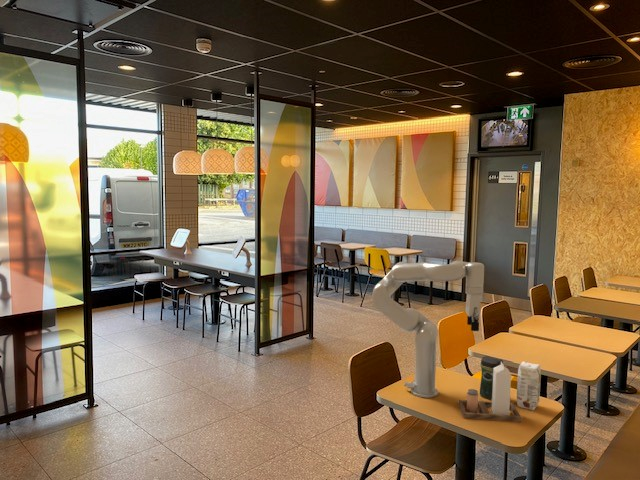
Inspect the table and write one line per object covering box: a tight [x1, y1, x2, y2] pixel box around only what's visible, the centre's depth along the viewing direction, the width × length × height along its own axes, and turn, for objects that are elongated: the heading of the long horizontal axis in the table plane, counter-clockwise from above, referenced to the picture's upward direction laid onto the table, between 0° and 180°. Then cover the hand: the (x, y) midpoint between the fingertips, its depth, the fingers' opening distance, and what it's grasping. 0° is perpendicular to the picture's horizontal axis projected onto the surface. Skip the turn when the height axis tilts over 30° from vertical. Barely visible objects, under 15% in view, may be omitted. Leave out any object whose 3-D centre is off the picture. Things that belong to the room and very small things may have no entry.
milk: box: [491, 362, 512, 415], centre depth 203 cm, size 6×6×22 cm
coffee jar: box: [479, 355, 504, 401], centre depth 220 cm, size 10×8×19 cm
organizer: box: [458, 399, 522, 423], centre depth 204 cm, size 23×13×2 cm, turn 82°
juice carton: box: [516, 361, 542, 411], centre depth 210 cm, size 8×9×19 cm
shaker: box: [466, 388, 479, 413], centre depth 205 cm, size 5×5×9 cm
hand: (472, 327), depth 214 cm, fingers open, 9 cm apart
